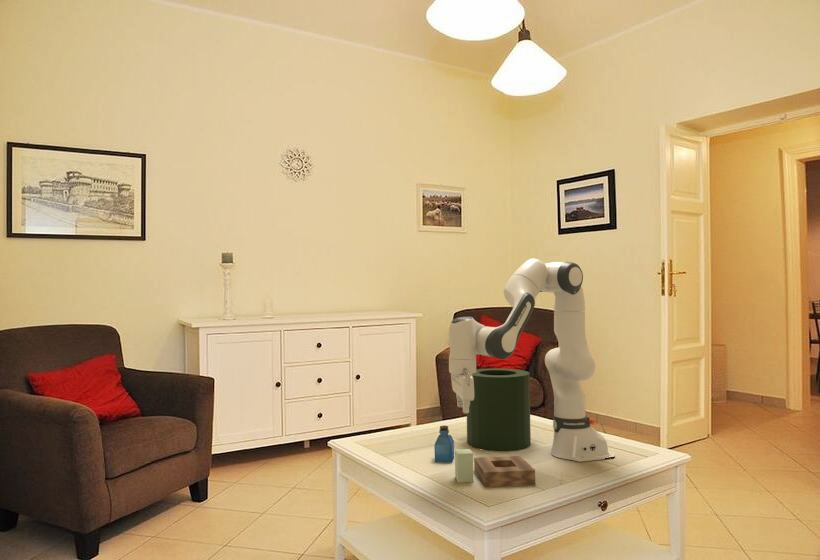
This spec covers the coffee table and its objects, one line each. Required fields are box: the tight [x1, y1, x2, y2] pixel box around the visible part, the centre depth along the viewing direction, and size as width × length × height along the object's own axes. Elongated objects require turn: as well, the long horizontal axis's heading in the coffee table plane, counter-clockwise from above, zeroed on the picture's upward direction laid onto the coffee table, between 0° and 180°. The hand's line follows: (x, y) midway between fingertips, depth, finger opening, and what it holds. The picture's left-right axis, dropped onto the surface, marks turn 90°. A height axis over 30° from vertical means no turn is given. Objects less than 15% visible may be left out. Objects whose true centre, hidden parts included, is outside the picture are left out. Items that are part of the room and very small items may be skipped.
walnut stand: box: [473, 455, 536, 488], centre depth 185 cm, size 16×16×4 cm
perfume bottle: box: [434, 425, 455, 464], centre depth 205 cm, size 6×6×12 cm
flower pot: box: [466, 368, 532, 453], centre depth 228 cm, size 25×25×28 cm
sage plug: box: [454, 448, 474, 483], centre depth 184 cm, size 5×5×9 cm
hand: (463, 409), depth 184 cm, fingers open, 8 cm apart
